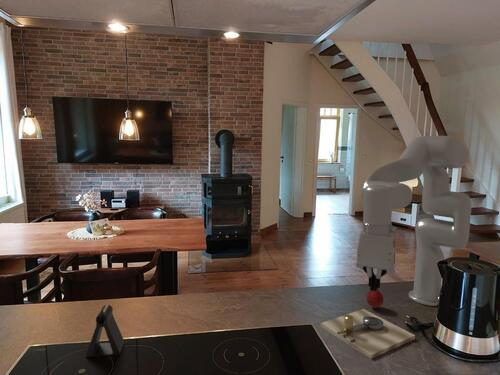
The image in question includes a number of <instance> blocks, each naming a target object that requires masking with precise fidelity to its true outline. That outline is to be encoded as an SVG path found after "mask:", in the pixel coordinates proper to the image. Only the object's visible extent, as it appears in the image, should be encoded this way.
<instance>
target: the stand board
mask: <svg viewBox="0 0 500 375" xmlns="http://www.w3.org/2000/svg"><path fill="white" fill-rule="evenodd" d="M345 315H350V316H352V317H353V326H354V325H358V324H362V323H363V318H364V317H366V316H371V317H376V318H379V319H381V320H382V321H383V329H381V330H371V329H368V328H366V329H362V330H359V331H355V332H352V333H347V332H346V333H342V334H340V333H339V330H343V329H344V316H345ZM320 327H321V328H322V329H324V330H325V331H327V332H329V333H330V334H332V335H333V336H335V337H336V338H337V339H339V340H341V341H342V342H344V343H346V344H347V345H349V346H350V347H351V348H353V349H355V350H356V351H357V352H359V353H361V354H362V355H364V356H365V357H367V358H368V359H370V360H372V359H374V358H376V357H379V356H381V355H383V354H385V353H387V352H389V351H392V350H394V349H396V348H398V347H401V346H403V345H406V344H407V343H410V342H412V341H414V340H415V339H416V335H415V334H413V333H411V332H410V331H407V330H405V329H403V328H401V327H399V326H398V325H396V324H393V323H392V322H389V321H388V320H386V319H385V318H382V317H380V316H378V315H376V314H375V313H372V312H370V311H368V310H366V309H365V308H361V309H359V310H356V311H352V312H350V313H347V314H344V315H341V316H338V317H334V318H332V319H329V320H325V321H323V322H321V323H320Z"/></svg>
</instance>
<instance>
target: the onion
mask: <svg viewBox="0 0 500 375" xmlns="http://www.w3.org/2000/svg"><path fill="white" fill-rule="evenodd" d="M365 299H366V302H367V304H368V305H369V306H371V308H373V309H377V308H379V307H381V306H382V305H383V303H384V300H385V299H384V295H383V294H382V292H381V291H380V290H379V288H378V289H377V291H376V292H375V291H370V290H369V291H368V292H367V294H366V297H365Z"/></svg>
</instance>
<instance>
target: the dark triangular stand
mask: <svg viewBox="0 0 500 375" xmlns="http://www.w3.org/2000/svg"><path fill="white" fill-rule="evenodd" d="M105 308H106V309H105ZM113 308H114V307H113V306H111V305H110V304H108V305H107V307H106V304H105V305H103V306H102V308H101V309H100V311H99V312H98V313H97V316H96V318H95V322H96V325H95V329H94V332H93V334H92V338H91V340H90V341H89V342H90V343H89V346H88V348H87V351H86V355H85V357H86V358H94V357H103V356H104V357H109V356H120V355H121V352H122V350H123V346H124V344H125V340H124V337H123V336H122V333H121V331H120V328H119V326H118V323H117V322H116V319H115V317H114V313H113V310H114V309H113ZM104 310H105V311H104ZM103 328H104V331H105V334H106V336H107V340H108V342H102V343H101V342H100V340H101V335H102V332H103Z"/></svg>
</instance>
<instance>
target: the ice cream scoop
mask: <svg viewBox="0 0 500 375" xmlns="http://www.w3.org/2000/svg"><path fill="white" fill-rule="evenodd" d="M344 315H345V316H344V329H343V330H339V333H340V334H342V333H346V332H347V333H352V332H355V331H359V330H362V329H366V328H368V329H371V330H381V329H383V321H382V320H381V319H379V318H376V317H371V316H366V317H364V318H363V323H362V324H358V325H354V326H353V317H352V316H350V315H346V314H344Z"/></svg>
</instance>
